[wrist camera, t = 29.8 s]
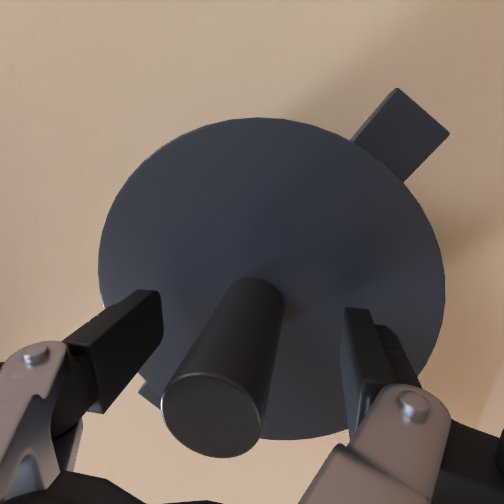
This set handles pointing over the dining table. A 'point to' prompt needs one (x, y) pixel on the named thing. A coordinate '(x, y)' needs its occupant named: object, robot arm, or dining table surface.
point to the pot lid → (267, 275)
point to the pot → (384, 151)
